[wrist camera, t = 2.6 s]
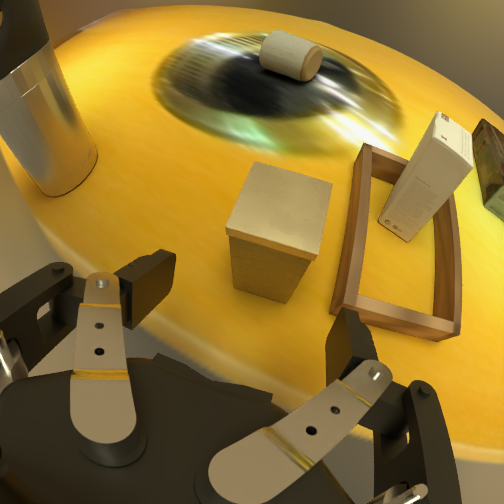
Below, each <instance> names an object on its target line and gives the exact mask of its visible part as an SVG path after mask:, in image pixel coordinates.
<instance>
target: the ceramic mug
mask: <svg viewBox="0 0 504 504" xmlns="http://www.w3.org/2000/svg"><path fill="white" fill-rule="evenodd" d="M322 57H323V52H322V50H321V48H320V47H319V46H317V45H316V44H314V43H312V42H310V41H307V40H305V39H302V38H299V37H297V36H294V35H292V34H289V33H286V32H283V31H280V30H275V31H273V32H271V33H270V34H269V35H268V36H267V37H266V38H265V40H264V42H263V44H262V46H261V50H260V55H259V59H260V64H261V66H262V67H263V68H265V69H268V70H271V71H274V72H277V73H280V74H283V75H286V76H288V77H291V78H293V79H296V80H300V81H308V80H310V79H312V78H313V77H314V76H315V74H316V73H317V71H318V69H319V67H320V65H321V62H322Z"/></svg>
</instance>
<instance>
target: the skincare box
mask: <svg viewBox="0 0 504 504" xmlns="http://www.w3.org/2000/svg"><path fill="white" fill-rule="evenodd" d="M472 169H473V150H472V135H471V134H470V133H469V132H468V131H467V130H465V129H464V128H463V127H461V126H460V125H459V124H457V123H456V122H454V121H453V120H452V119H450V118H449V117H447V116H446V115H444V114H443V113H441V112H440V111H437V112H436V114H435V116H434V117H433V119H432V121H431V123H430V125H429V127H428V129H427V130H426V132H425V134H424V136H423V138H422V140H421V141H420V143H419V145H418V147H417V148H416V150H415V152H414V154H413V156H412V157H411V159H410V161H409V162H408V164H407V166H406V167H405V169H404V171H403V172H402V174H401V176H400V177H399V179H398V181H397V182H396V184H395V185H394V187H393V189H392V191H391V193H390V196H389V198H388V200H387V202H386V205H385V207H384V209H383V211H382V213H381V215H380V217H379V220H378V221H379V222H380V223H381V224H382V225H384V226H385V227H386V228H388V229H389V230H391V231H392V232H393V233H395V234H396V235H398V236H399V237H400V238H402V239H403V240H405V241H406V242H407V241H410V240H411V239H412V238H413V237H414V236H415V235H416V234H417V233H418V232H419V231H420V229H421V228H422V227H423V226H424V225H425V224H426V223H427V222H428V221H429V220H430V218H431V217H432V216H433V215H434V214H435V213H436V212H437V211H438V210H439V208H440V207H441V206H442V205H443V204H444V203H445V202H446V200H447V199H448V198H449V197H450V196H451V195H452V193H453V192H454V191H455V190H456V188H457V187H458V186H459V185H460V183H461V182H462V181H463V179H464V178H465V177H466V176H467V175H468V173H469V172H470V171H471V170H472Z"/></svg>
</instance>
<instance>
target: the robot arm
mask: <svg viewBox="0 0 504 504" xmlns="http://www.w3.org/2000/svg"><path fill="white" fill-rule="evenodd" d="M1 11H2V12H3V13H2V15H3V17H2V23H1V26H0V135H1V136H2V138H3V139H4V141H5V142H6V144H7V145H8V147H9V148H10V150H11V151H12V152H13V154H14V155H15V157H16V158H17V159H18V161H19V162H20V163H21V165H22V166H23V167H24V169H25V170H26V171H27V173H28V174H29V175H30V177H31V178H32V179H33V181H34V182H35V183H36V184H37V186H38V187H39V188H40V189H41V190H42V192H43V193H44V194H45V195H47V196H54V197H55V196H59V195H62V194H65V193H67V192H69V191H70V190H72V189H74V188H75V187H76V186H77V185H79V184H80V183H81V182H82V181H83V180H84V179H85V178H86V177H87V175H88V174H89V173H90V172H91V170H92V168H93V167H94V165H95V162H96V159H97V150H96V147H95V145H94V143H93V141H92V139H91V137H90V135H89V133H88V131H87V129H86V126H85V124H84V122H83V120H82V118H81V116H80V113H79V111H78V109H77V107H76V105H75V102H74V100H73V98H72V95H71V93H70V91H69V88H68V86H67V84H66V81H65V79H64V76H63V74H62V71H61V68H60V66H59V63H58V61H57V58H56V56H55V53H54V50H53V47H52V44H51V41H50V40H49V36H48V33H47V30H46V26H45V23H44V20H43V16H42V12H41V9H40V5H39V1H38V0H0V12H1ZM175 263H176V254H175V253H172V252H169V251H166V250H163V249H159V250H158V251H156V252H155V253H153V254H152V255H146V256H142V257H139V258H137V259H135V260H134V261H133V262H130V263H129V264H128V265H126V266H124V267H122V268H121V269H119V270H118V271H116V272H115V273H113V274H112V273H108V272H96V273H93V274H91V275H89V276H88V277H87V279H83V278H79V277H74V276H73V267H72V266H71V265H70V264H68V263H64V262H55V263H51V264H49V265H47V266H45V267H43V268H42V269H40V270H38V271H36V272H35V273H33V274H31V275H30V276H28V277H26V278H24V279H23V280H21V281H20V282H18V283H16V284H15V285H13V286H11V287H10V288H8V289H7V290H5V291H4V292H2V293H1V294H0V504H355V503H354V502H353V501H352V499H351V498H350V497H349V496H348V494H347V493H346V492H345V491H344V489H343V488H342V486H341V485H340V484H339V483H338V481H337V480H336V479H335V477H334V476H333V474H332V473H331V472H330V470H329V469H328V467H327V466H326V465H325V463H324V462H323V460H322V459H323V458H324V457H325V456H326V455H327V454H328V453H329V452H330V451H331V450H332V449H333V448H334V447H335V446H336V445H337V444H338V443H339V442H340V441H341V440H342V439H343V438H344V437H345V436H346V435H347V434H348V433H349V432H350V431H351V430H352V429H353V428H354V427H355V426H356V424H359V425H361V426H363V427H366V428H368V429H371V430H373V440H374V498H373V499H371V500H370V501H369V502H368V503H367V504H462V501H461V493H460V486H459V480H458V475H457V470H456V464H455V459H454V455H453V450H452V446H451V442H450V438H449V434H448V430H447V426H446V423H445V419H444V416H443V413H442V409H441V406H440V403H439V400H438V397H437V394H436V392H435V390H434V389H433V387H432V386H430V385H429V384H428V383H426V382H424V381H421V380H415V381H413V382H411V384H410V385H409V386H408V388H407V387H405V386H403V385H400V384H398V383H396V382H394V381H392V379H393V376H392V373H391V371H390V369H389V368H388V367H387V366H386V365H384V364H383V363H381V362H379V360H378V356H377V353H376V349H375V346H374V342H373V340H372V335H371V332H370V330H369V329H368V328H367V326H366V325H365V324H363V323H361V321H360V318H359V314H358V311H355V310H352V309H348V308H345V307H342V308H341V309H340V311H339V313H338V315H337V317H336V319H335V321H334V324H333V326H332V328H331V330H330V332H329V334H328V337H327V340H326V344H325V352H326V388H325V389H323V390H322V391H321V392H319V393H318V394H317V395H315V396H314V397H313V398H311V399H310V400H309V401H307V402H306V403H305V404H303V405H302V406H300V407H299V408H298V409H296V410H295V411H293V412H292V413H290V414H288V413H287V412H285V411H284V410H283V409H281V408H280V407H278V406H277V405H275V404H273V403H271V400H272V395H273V394H272V393H268V392H265V391H261V390H258V389H254V388H251V387H248V386H245V385H238V384H231V383H224V382H217V381H212V380H209V379H207V378H206V377H204V376H203V375H201V374H199V373H198V372H196V371H195V370H193V369H191V368H190V367H188V366H187V365H185V364H183V363H181V362H178V361H176V360H173V359H171V358H169V357H166V356H164V355H162V354H159V353H157V355H156V356H155V357H154V358H153V360H151V359H146V358H126V356H125V347H124V339H123V328H122V326H125V327H126V328H128V329H131V330H133V329H134V328H135V327H136V326H137V325H138V324H139V323H140V322H141V321H142V320H143V319H144V318H145V317H146V316H147V315H148V314H149V313H150V312H151V311H152V310H153V309H154V308H155V307H156V306H157V305H158V304H159V303H160V302H161V301H162V300H163V299H164V298H165V297H166V296H167V295H168V294H169V292H170V290H171V288H172V284H173V277H174V270H175ZM47 302H49V308H50V311H49V312H47V313H46V314H45V315H43V316H42V317H41V318H40V319H38V320H37V312H38V310H39V308H40V307H41V306H43V305H44V304H45V303H47ZM75 327H76V338H75V350H74V368H73V370H69V371H63V372H58V373H52V374H46V375H40V376H34V377H28V373H29V372H30V371H31V370H32V369H33V368H34V367H35V366H36V365H37V364H38V363H39V362H40V361H41V360H42V358H44V357H45V356H46V355H47V354H48V353H49V352H50V351H51V350H52V349H53V348H54V347H55V346H56V345H57V344H58V343H60V342H61V341H62V340H63V339H64V338H65V337H66V336H67V335H68V334H69V333H70V332H71V331H72V330H73V329H74V328H75ZM408 432H409V436H410V439H409V443H407V435H406V433H408Z"/></svg>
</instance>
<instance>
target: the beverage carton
mask: <svg viewBox="0 0 504 504" xmlns="http://www.w3.org/2000/svg"><path fill="white" fill-rule="evenodd" d="M472 148H473V152H474V156H475V160H476V165H477V170H478V175H479V181H480V186H481V192H482V197H483V204H484V207H485V208H487V209H488V210H489V211H491V212H492V213H493V214H495V215H496V216H497V217H498V218H500V219H501V220H502V221H504V134H502V133H501V132H500V131H499V130H498V129H497V128H496V127H494V126H493V125H491V124H490V123H489V122H488V121H486V120H485V119H483V118H482V119H481V120H480V122H479V123H478V125H477V127H476V128H475V130H474V132H473V133H472Z"/></svg>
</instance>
